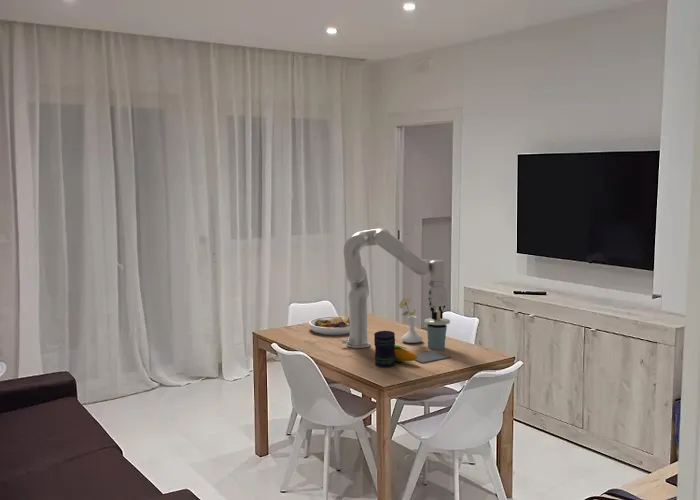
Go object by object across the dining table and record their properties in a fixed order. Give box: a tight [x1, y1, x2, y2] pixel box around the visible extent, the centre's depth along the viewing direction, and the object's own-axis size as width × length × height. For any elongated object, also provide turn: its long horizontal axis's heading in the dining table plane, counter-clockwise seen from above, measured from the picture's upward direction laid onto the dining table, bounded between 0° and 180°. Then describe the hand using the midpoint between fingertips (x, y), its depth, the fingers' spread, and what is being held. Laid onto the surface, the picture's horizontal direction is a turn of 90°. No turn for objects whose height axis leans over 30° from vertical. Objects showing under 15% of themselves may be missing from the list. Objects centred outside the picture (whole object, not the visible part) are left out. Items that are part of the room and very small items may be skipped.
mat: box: [414, 349, 452, 364], centre depth 328 cm, size 18×14×1 cm
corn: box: [395, 344, 417, 363], centre depth 320 cm, size 7×8×20 cm
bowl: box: [308, 315, 349, 336], centre depth 386 cm, size 30×30×8 cm
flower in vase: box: [398, 296, 423, 344], centre depth 356 cm, size 13×11×25 cm
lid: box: [424, 309, 451, 326], centre depth 343 cm, size 13×13×6 cm
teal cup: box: [426, 324, 448, 351], centre depth 344 cm, size 10×10×12 cm
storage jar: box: [373, 330, 396, 369], centre depth 314 cm, size 10×10×15 cm
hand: (437, 318), depth 343 cm, fingers closed on lid, 3 cm apart
